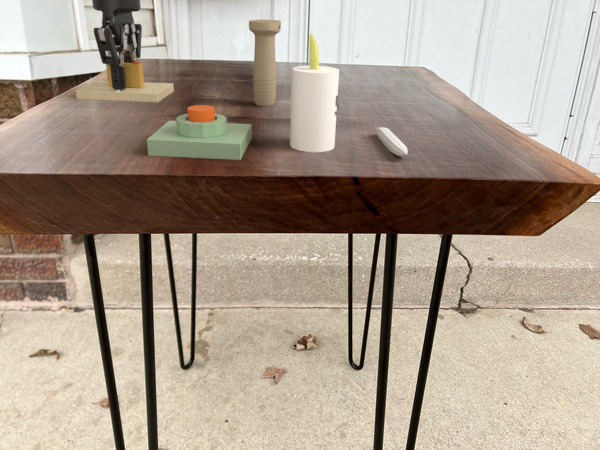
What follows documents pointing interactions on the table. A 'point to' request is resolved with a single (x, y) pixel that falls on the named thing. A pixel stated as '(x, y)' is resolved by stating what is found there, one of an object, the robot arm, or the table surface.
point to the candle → (314, 104)
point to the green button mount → (200, 139)
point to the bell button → (201, 113)
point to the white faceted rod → (391, 141)
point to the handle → (264, 60)
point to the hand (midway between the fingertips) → (125, 86)
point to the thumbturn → (130, 75)
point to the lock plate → (125, 92)
